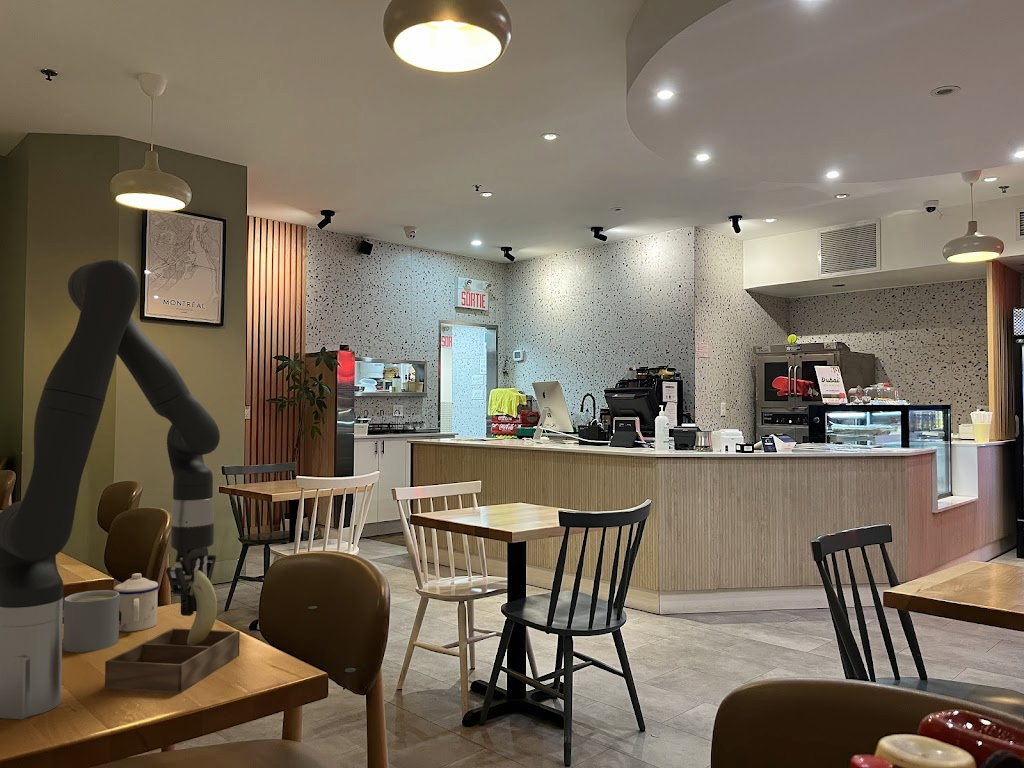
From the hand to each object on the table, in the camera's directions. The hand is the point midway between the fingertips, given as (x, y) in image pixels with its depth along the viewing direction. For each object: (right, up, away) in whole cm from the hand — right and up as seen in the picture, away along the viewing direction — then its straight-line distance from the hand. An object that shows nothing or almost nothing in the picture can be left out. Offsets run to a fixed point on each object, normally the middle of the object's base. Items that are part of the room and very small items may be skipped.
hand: (191, 612), depth 144 cm
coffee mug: (-27, -10, +13) cm, 31 cm away
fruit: (0, -6, 0) cm, 6 cm away
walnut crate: (-1, -10, -5) cm, 11 cm away
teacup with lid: (-22, -11, +23) cm, 34 cm away
